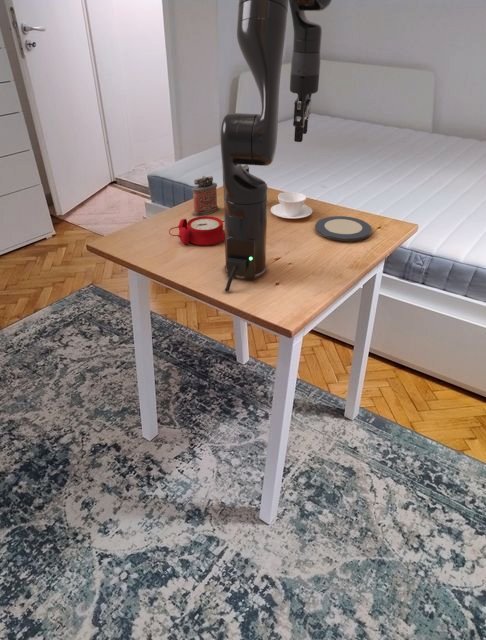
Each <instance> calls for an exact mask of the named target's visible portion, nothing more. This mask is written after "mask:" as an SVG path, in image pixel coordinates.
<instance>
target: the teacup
mask: <svg viewBox="0 0 486 640" xmlns="http://www.w3.org/2000/svg"><path fill="white" fill-rule="evenodd" d="M277 199H278V202H279V203H277V204H274V205H272V206H271V207H270V212H271V214H273V215H274V216H275V217H279V218H283V219H291V220H292V219H303V218H306V217H309V216H310V215H312V213H313V208H311V207H310V206H309V205H306V204H305V203H306V201H307V195H306V194H305V193H301V192H297V191H285V192H279V194H278V195H277Z"/></svg>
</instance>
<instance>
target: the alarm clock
mask: <svg viewBox="0 0 486 640" xmlns="http://www.w3.org/2000/svg"><path fill="white" fill-rule="evenodd" d="M224 223H225V220H222V219H221V218H219V217H216V216H211V215H210V216H209V215H206V216H205V215H201V216H196V217H193V218H191V219H189V220H187V219H186V218H181V219H180V221H179V223H178V225H177V226H174V227H171V228H169V230H168V234H169V235H170V236H171V237H178V238H179V240H180V242H181V243H182V244H183V245H188V244H189V243H190V244H193V245H197V246H211V245H216V244H219V243H222V242H223V241H225V229H224ZM173 229H178V234H172V233H171V230H173Z"/></svg>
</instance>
